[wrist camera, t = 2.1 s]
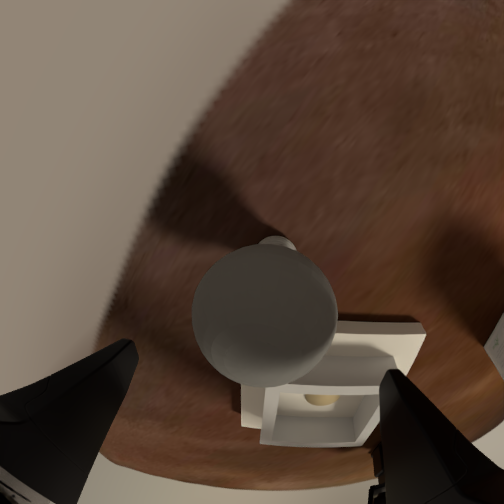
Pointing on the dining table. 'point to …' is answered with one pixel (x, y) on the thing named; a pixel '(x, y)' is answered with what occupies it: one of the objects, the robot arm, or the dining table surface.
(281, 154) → the dining table surface
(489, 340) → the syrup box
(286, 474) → the dining table surface
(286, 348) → the light bulb
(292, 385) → the socket base
